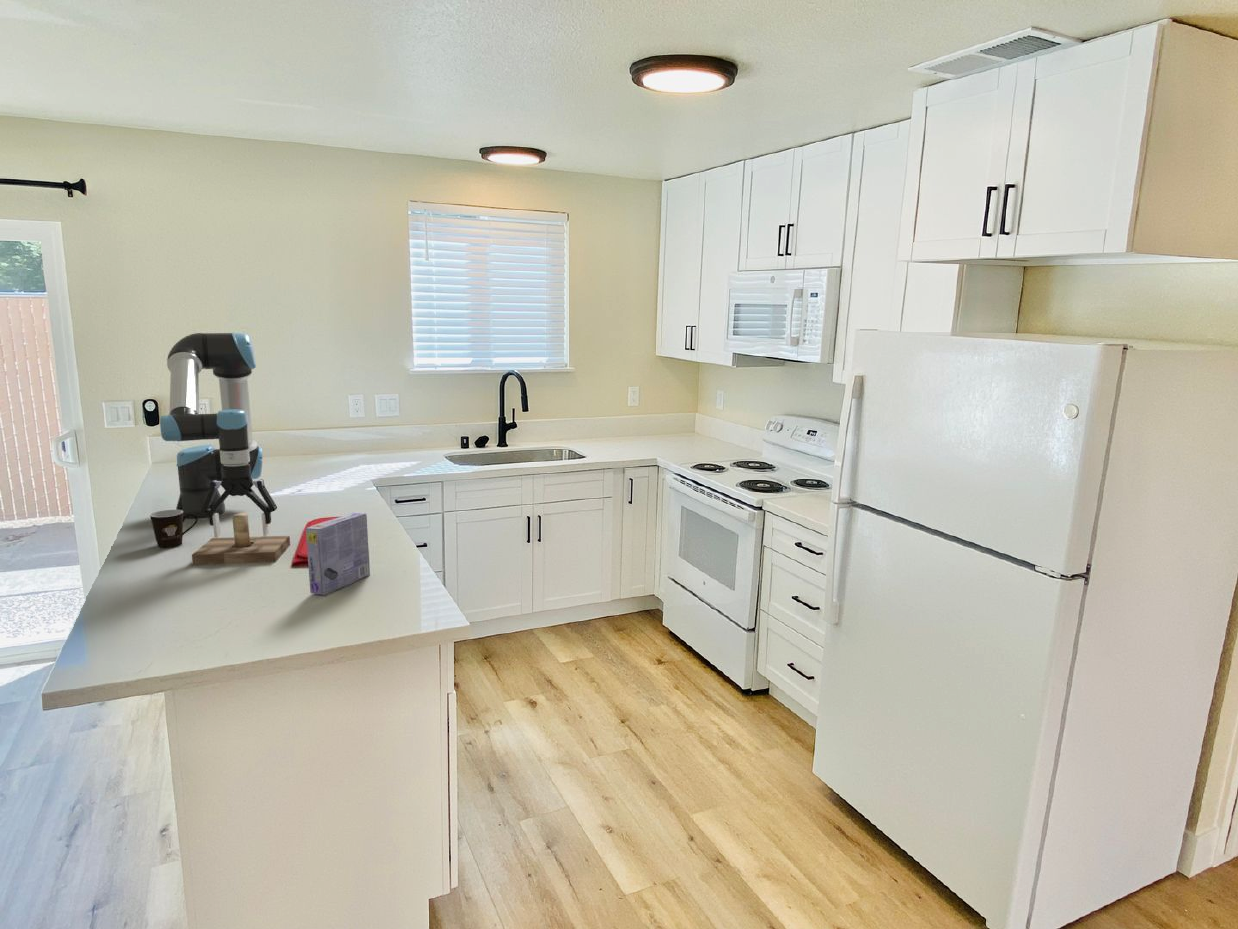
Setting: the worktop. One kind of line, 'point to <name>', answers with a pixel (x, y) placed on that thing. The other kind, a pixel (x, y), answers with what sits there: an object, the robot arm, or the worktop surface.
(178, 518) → the coffee mug
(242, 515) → the oak peg
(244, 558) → the walnut board
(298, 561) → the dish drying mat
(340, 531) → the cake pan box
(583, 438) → the worktop surface
